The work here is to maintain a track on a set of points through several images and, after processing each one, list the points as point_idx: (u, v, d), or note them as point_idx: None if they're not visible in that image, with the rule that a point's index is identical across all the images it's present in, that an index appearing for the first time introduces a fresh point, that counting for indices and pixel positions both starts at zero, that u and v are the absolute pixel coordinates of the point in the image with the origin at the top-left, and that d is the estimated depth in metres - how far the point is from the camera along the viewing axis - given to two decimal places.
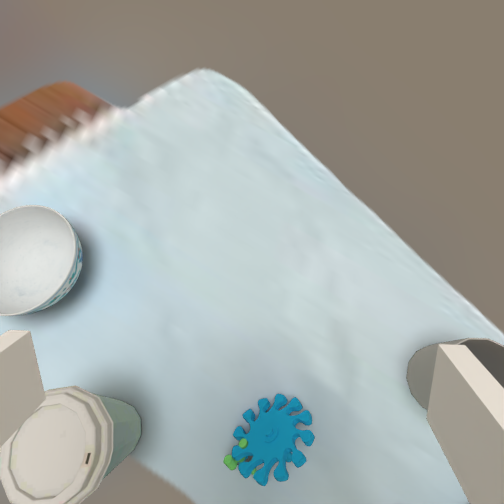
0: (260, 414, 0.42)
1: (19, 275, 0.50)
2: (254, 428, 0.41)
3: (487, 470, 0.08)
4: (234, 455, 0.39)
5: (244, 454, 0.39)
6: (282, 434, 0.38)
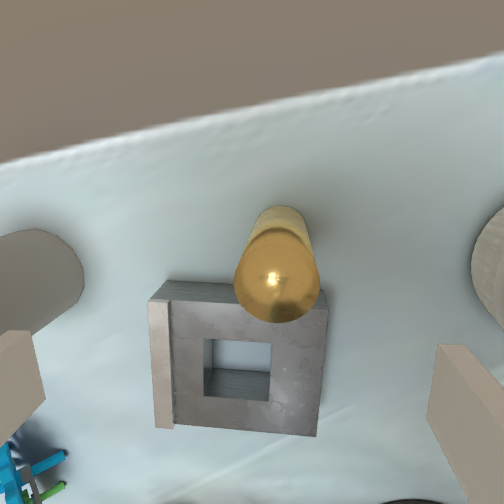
0: None
1: None
2: None
3: (487, 470, 0.08)
4: None
5: None
6: None
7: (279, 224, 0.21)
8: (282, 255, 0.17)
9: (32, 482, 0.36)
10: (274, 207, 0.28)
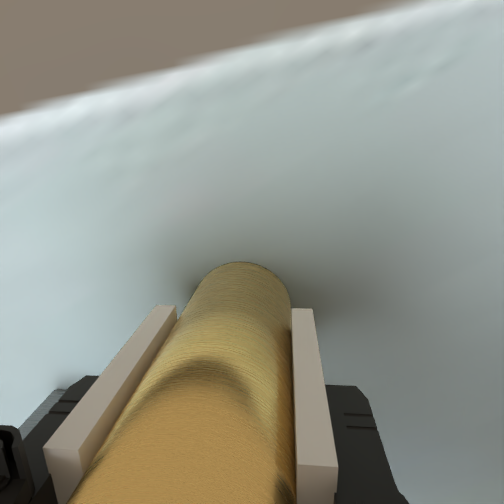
0: None
1: None
2: None
3: None
4: None
5: None
6: None
7: (199, 368, 0.08)
8: None
9: None
10: (226, 268, 0.15)
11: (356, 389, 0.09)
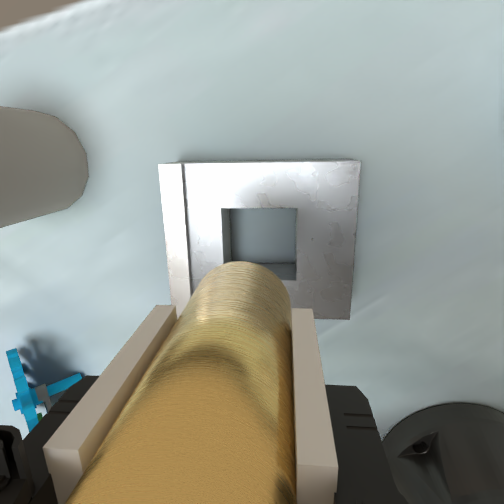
0: None
1: None
2: None
3: None
4: None
5: None
6: (19, 397, 0.32)
7: (199, 367, 0.08)
8: None
9: (48, 402, 0.34)
10: (226, 267, 0.15)
11: (356, 389, 0.09)
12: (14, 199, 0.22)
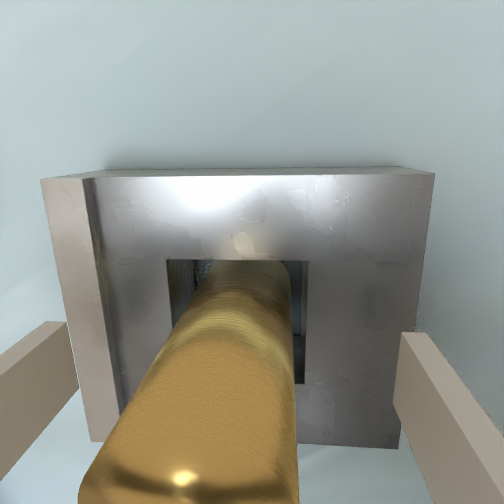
0: None
1: None
2: None
3: (435, 444, 0.08)
4: None
5: None
6: None
7: (220, 316, 0.10)
8: (192, 464, 0.06)
9: None
10: None
11: None
12: None
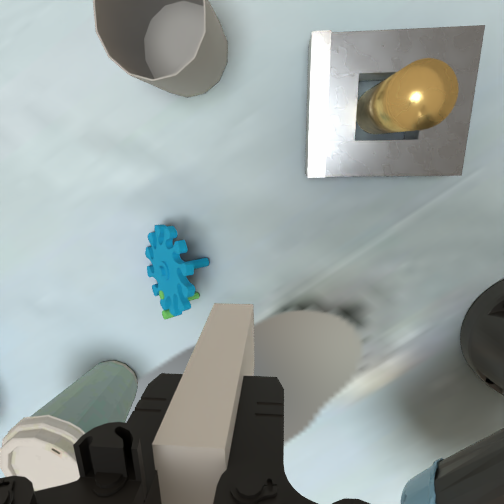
0: (152, 263, 0.40)
1: None
2: (157, 277, 0.39)
3: None
4: (164, 307, 0.39)
5: (168, 300, 0.39)
6: (168, 263, 0.36)
7: None
8: (430, 68, 0.23)
9: None
10: None
11: (275, 380, 0.10)
12: (205, 49, 0.27)
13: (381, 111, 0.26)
